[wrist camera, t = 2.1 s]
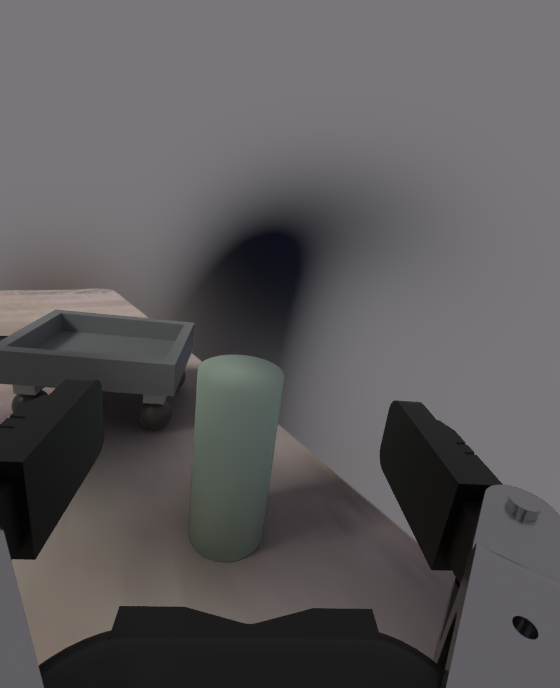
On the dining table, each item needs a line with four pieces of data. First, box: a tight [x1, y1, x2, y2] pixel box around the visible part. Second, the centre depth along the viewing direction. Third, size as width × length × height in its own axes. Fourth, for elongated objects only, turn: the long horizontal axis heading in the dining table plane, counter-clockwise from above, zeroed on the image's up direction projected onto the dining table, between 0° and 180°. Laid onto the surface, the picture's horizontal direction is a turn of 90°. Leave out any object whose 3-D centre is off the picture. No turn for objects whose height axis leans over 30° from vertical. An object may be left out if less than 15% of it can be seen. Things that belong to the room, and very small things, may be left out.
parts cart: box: [0, 310, 194, 429], centre depth 39 cm, size 15×12×8 cm
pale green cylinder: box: [189, 355, 284, 562], centre depth 25 cm, size 5×5×12 cm
